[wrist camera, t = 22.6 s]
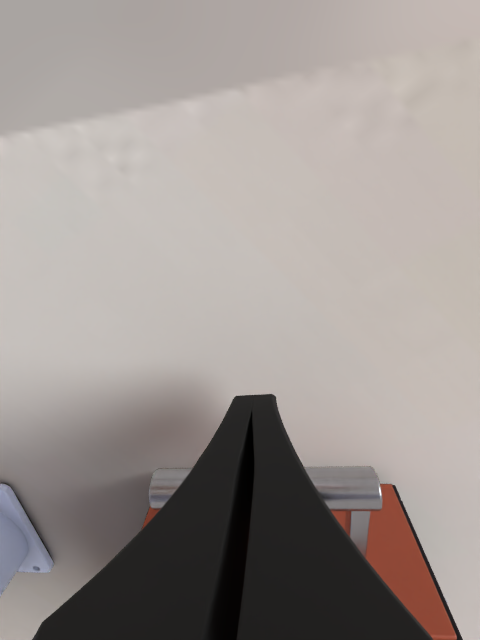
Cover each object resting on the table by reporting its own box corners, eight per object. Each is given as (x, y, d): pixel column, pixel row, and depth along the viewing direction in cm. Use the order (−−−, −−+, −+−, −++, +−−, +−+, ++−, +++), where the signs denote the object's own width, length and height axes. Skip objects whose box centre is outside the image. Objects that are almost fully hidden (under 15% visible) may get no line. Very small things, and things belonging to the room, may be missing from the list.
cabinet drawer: (133, 403, 13) (57, 524, 8) (403, 393, 12) (495, 530, 7) (200, 627, 21) (180, 761, 16) (372, 636, 19) (407, 784, 15)
